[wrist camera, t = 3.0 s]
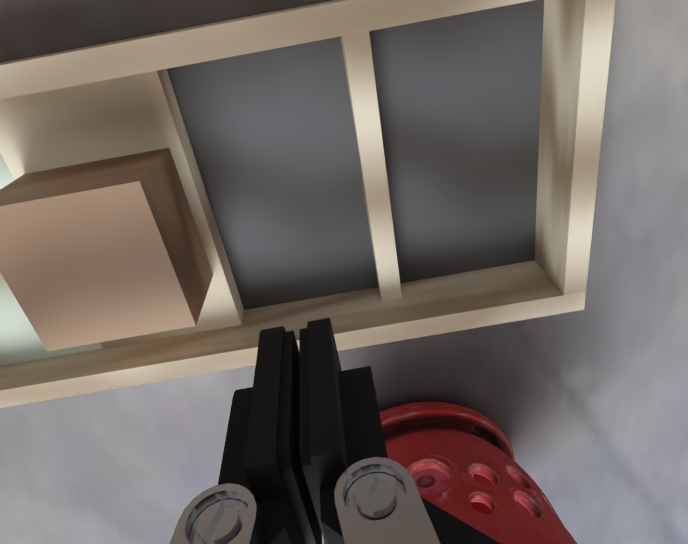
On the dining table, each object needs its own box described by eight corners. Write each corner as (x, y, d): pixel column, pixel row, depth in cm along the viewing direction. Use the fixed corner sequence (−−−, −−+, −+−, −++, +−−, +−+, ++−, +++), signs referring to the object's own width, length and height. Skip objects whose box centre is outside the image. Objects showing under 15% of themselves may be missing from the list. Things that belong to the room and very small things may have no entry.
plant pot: (525, 491, 35) (617, 706, 24) (343, 529, 35) (358, 752, 25) (512, 351, 28) (632, 562, 18) (291, 401, 29) (281, 630, 19)
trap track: (-238, 107, 19) (-340, 129, 16) (569, -45, 19) (620, -52, 16) (-43, 373, 26) (-88, 422, 23) (551, 271, 26) (583, 309, 22)
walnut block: (24, 174, 20) (-36, 212, 16) (169, 147, 20) (139, 181, 16) (87, 296, 23) (47, 351, 19) (213, 274, 23) (195, 326, 19)
